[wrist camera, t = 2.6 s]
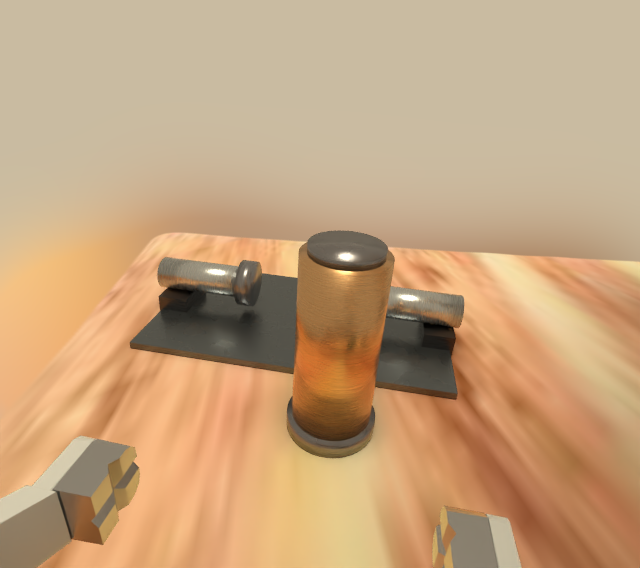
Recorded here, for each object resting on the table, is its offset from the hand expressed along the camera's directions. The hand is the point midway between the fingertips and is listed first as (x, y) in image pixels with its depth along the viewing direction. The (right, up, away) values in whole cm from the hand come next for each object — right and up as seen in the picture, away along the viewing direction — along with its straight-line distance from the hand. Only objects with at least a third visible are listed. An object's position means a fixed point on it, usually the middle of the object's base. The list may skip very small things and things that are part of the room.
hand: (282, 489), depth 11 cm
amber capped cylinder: (+2, -3, +16) cm, 16 cm away
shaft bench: (0, +2, +26) cm, 26 cm away
